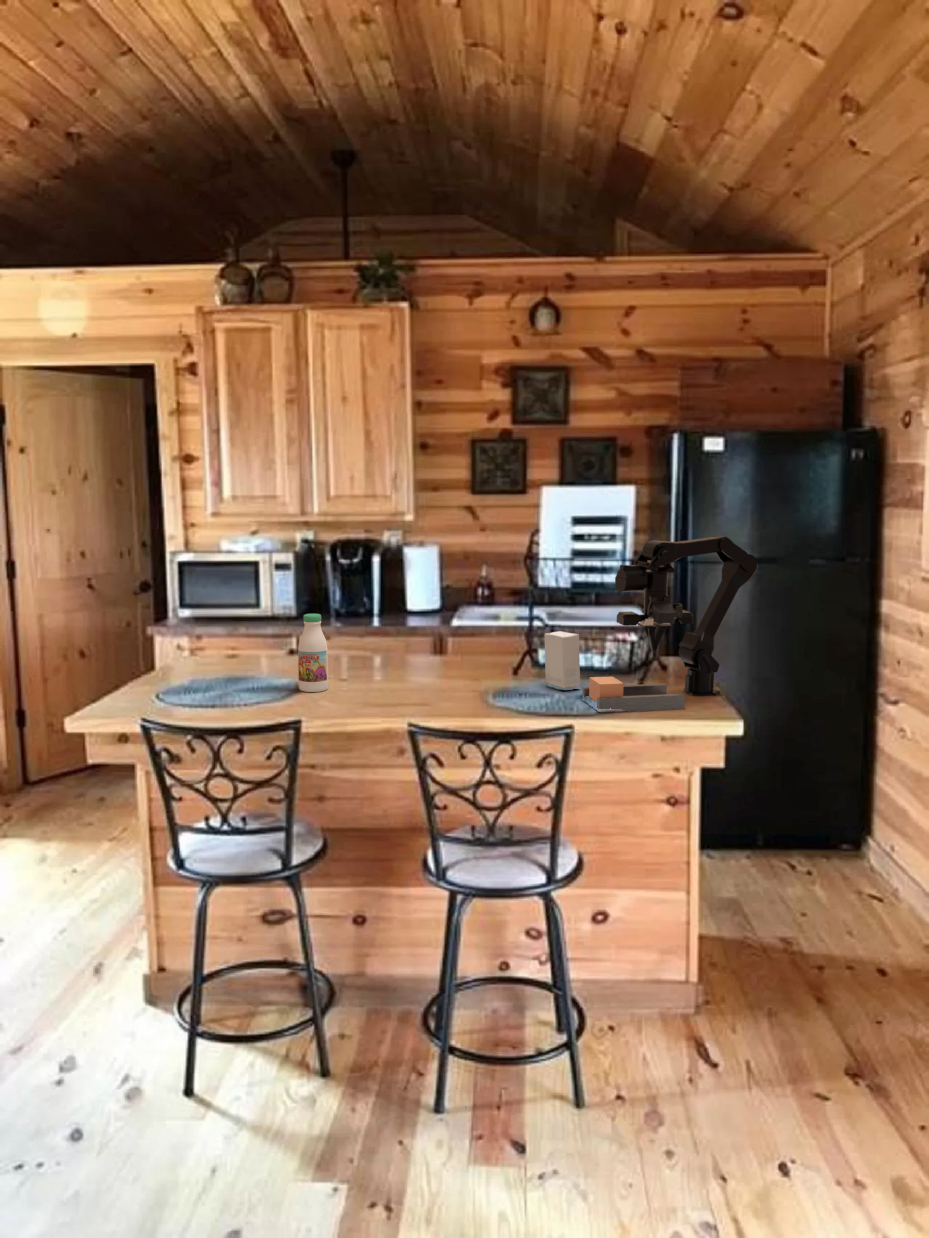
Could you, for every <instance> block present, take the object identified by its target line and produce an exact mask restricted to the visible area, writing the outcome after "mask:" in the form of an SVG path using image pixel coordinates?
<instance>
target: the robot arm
mask: <svg viewBox="0 0 929 1238" xmlns="http://www.w3.org/2000/svg"><path fill="white" fill-rule="evenodd" d="M714 553H715V555H716V556H717V558H718V559H719V560H720V562H722V563H723V565H722V568H721V581H720V583H719V585H718V587H717V589H716V591H715V593H714V595H713V597H712V598H711V600H710V603H709V605H708V606H707V609H706V611H705V612H704V614H703V616H702V618H701V620H700V622H699V624H698V625H697V628H695V630H694V631H692V632H688V631H686V632H685V633H684V635H683V638H682V640H681V641H680V643H679V644H678V646H679V648H678V654H679V659H680V660H681V661H682V663H683V666H684V668H687V670H686V674H685V675H684V688H683V691H685V692H686V693H688V694H690V695H691V696H711V695H712V696H715V695H717V692H716V691H714V687H715V686H714V684H715V681H714V680H715V673H718V671H719V668H720V663H719V662H718V661H717V660H716V659H715V658H714V657H713V653H714V649H715V638H716V637H715V636H716V634H717V633H718V630H719V629H720V627H721V624H722V623H723V621H724V619H725V616H726V615H727V613H728V611H729V609H730V607H731V605H732V603H733V602H734V599H735V597H736V595H737V593H738V591H740V589H741V587H743V586H744V585H745V584H747V583H748V582H749V581H750V580H751V578H752V577H753V575H754V574H755V573H756V572H757V569H758V565H759V564H758V562H757V561H758V560H757V558H756V557H755V556H754V555H753V554H751V553H748V552H747V550H746V551H745V550H744V549H743V548H742V547H740V546H738V545H737V544H736V543H734V542H733V541H732V540H731V539H730V538H729V537H728V536H724V535H723V536H722V535H714V536H711V537H703V538H702V537H701V538H694V539H687V540H680V541H669V540H668V541H667V540H666V541H665V540H648V541H646V542H645V544H643V548H642V551H641V552H640V554H639V555H638V556H637V559H636V560H635V561H634V562H633V563H632V564H629V565H627V564H620V565H619V570H618V571H617V573H616V575H615V576H614V577H615V578H614V580H615V581H614V583H615V584H614V585H615V587H616V589H617V591H618V592H620V593H628V592H629V593H631V592H633V593H634V592H642V591H644V592H643V593H642V598H643V608H642V609H641V613H642V614H639V613H637V612H635V611H633V610H632V611H631V610H629V611H619V612H618V613H617V614H616V623H617V624H620V625H622V626H628V627H629V626H632V627H633V626H639V627H641V628H642V630H643V632H644V634H645V637H646V639H647V642H648V645H649V647H650V651H651V652H657V649H658V647H659V645H660V642H661V639H662V637H663V636H664V633H665V632H666V631H667V630H668V629H670V628H672V626H673V625H672V624H675V622H677V621H679V622H680V624H682V625H692V624H694V615H693V613H692V612H691V611H687V610H685V609H683V604H682V603H678V602H676V603H673V604H671V602H670V596H669V595H668V583H669V574H673V573H674V574H675V573H676V572H677V570H676V569H675V568H674V567H673V566H672V564H671V563H673V562H676V561H677V560H679V559H682V558H686V557H693V556H699V555H700V556H701V555H707V554H714Z"/></svg>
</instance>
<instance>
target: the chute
mask: <svg viewBox="0 0 929 1238" xmlns="http://www.w3.org/2000/svg"><path fill="white" fill-rule="evenodd" d="M581 689H582V691H581V692H582V695H581V697H582V696H584V697H585V696H589V686H582V688H581ZM667 689H668V685H667V684H666V683H650V684H649V683H647V684H644V683H643V684H625V685H624V684H623V696H618V697H597V708H598V709H610V708H611V709H622V710H625V711H628V712H631V713H632V712H645V711H646V712H648V711H652V712H653V711H668V710H669V711H671V710H685V705H686V704H685V702H686V695H685V694H684V693H670V694H669V693H668V692H667ZM628 712H627V713H628Z"/></svg>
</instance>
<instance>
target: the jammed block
mask: <svg viewBox="0 0 929 1238" xmlns="http://www.w3.org/2000/svg"><path fill="white" fill-rule="evenodd" d="M588 681H589V686H588V687H589V697H590V698H591V699H593V700H594V701H596V702H597V697H618V696H623V685H624V683H623V682H622V681H620V680H619V679H617V678H616V677H615V676H591V677H590V676H589V680H588Z"/></svg>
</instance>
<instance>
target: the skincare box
mask: <svg viewBox="0 0 929 1238" xmlns="http://www.w3.org/2000/svg"><path fill="white" fill-rule="evenodd" d="M580 657H581V655H580V634H579V633H572V632H566V631H559V630H558V631H553V632H546V633H544V665H545V667H544V669H545V672H544V673H545V684H546V683H550V684H553V685H555V686H559V687H562V688H568V687H574V686H580V687H581V668H580V661H581V660H580Z"/></svg>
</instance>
